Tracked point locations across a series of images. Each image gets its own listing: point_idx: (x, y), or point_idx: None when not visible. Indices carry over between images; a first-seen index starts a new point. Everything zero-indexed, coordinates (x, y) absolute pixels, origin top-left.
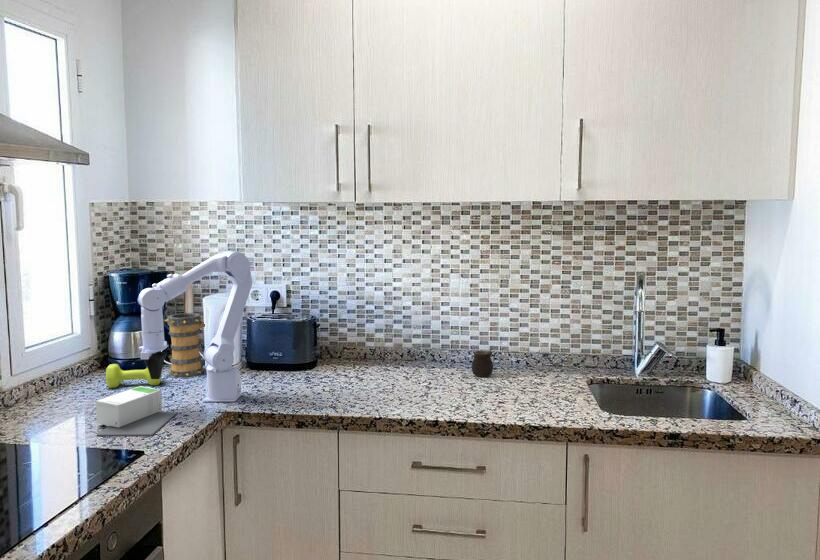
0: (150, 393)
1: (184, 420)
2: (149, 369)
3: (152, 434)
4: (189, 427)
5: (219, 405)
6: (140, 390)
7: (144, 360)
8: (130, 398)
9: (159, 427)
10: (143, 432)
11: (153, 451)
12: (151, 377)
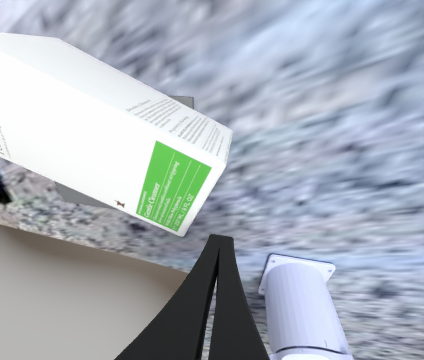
0: (137, 216)
1: (154, 233)
2: (190, 279)
3: (67, 201)
4: (122, 242)
5: (242, 272)
6: (155, 184)
7: (125, 352)
8: (63, 173)
9: (98, 206)
10: (66, 186)
11: (18, 213)
12: (208, 241)
